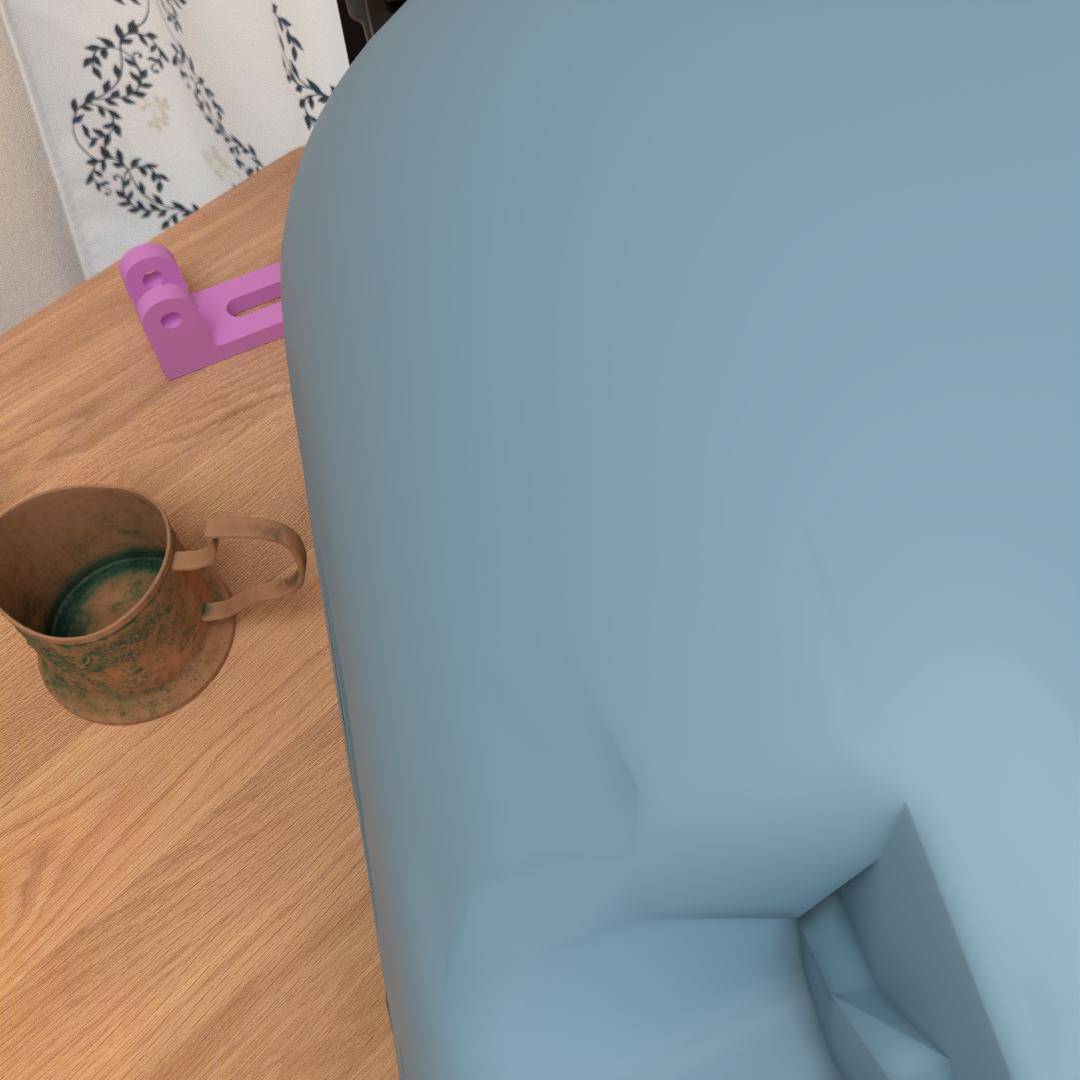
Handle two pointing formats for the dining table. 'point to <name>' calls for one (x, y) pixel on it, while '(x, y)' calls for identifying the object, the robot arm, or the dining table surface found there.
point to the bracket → (199, 311)
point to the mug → (124, 599)
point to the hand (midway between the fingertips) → (405, 174)
